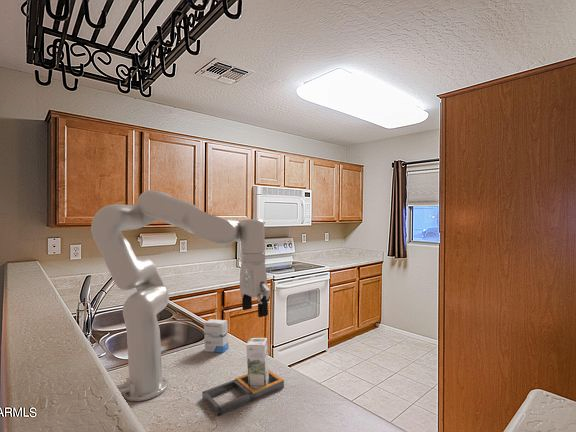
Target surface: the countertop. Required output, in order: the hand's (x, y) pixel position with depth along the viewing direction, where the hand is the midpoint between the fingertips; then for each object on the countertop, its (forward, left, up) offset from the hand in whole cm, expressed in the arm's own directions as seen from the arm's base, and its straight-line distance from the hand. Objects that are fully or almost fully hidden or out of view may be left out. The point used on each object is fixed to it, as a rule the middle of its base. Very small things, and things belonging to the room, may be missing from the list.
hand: (254, 312), depth 100 cm
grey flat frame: (-5, 0, -23) cm, 24 cm away
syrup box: (0, 0, -24) cm, 24 cm away
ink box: (+2, +36, -24) cm, 43 cm away
